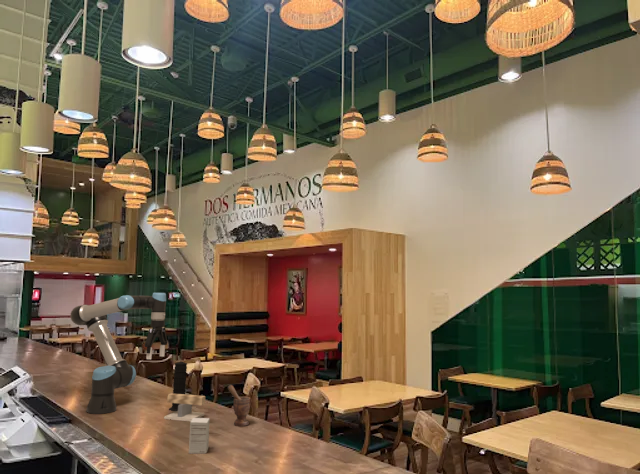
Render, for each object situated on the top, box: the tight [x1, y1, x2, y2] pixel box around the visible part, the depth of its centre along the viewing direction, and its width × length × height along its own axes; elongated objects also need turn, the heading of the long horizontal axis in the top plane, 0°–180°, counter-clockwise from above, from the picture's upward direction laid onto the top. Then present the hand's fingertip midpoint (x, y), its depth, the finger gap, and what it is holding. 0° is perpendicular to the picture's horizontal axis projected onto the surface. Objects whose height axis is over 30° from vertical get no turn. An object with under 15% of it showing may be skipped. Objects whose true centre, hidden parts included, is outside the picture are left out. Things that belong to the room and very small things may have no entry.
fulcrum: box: [163, 404, 205, 422], centre depth 264 cm, size 16×14×7 cm
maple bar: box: [166, 392, 206, 406], centre depth 265 cm, size 20×4×4 cm, turn 77°
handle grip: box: [168, 361, 188, 412], centre depth 283 cm, size 10×26×10 cm
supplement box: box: [188, 417, 211, 455], centre depth 209 cm, size 7×7×13 cm
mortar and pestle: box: [227, 384, 252, 427], centre depth 252 cm, size 12×9×20 cm
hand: (155, 357), depth 280 cm, fingers open, 13 cm apart
